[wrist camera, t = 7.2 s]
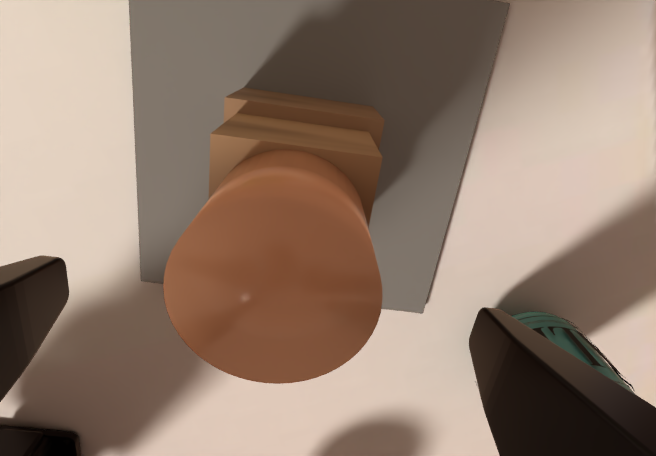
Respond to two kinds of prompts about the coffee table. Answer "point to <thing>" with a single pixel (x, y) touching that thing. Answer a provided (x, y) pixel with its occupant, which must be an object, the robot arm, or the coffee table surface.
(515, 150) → the coffee table surface
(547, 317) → the beverage bottle
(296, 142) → the top block
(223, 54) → the mat
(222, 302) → the peach rounded capsule
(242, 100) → the base block
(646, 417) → the robot arm
